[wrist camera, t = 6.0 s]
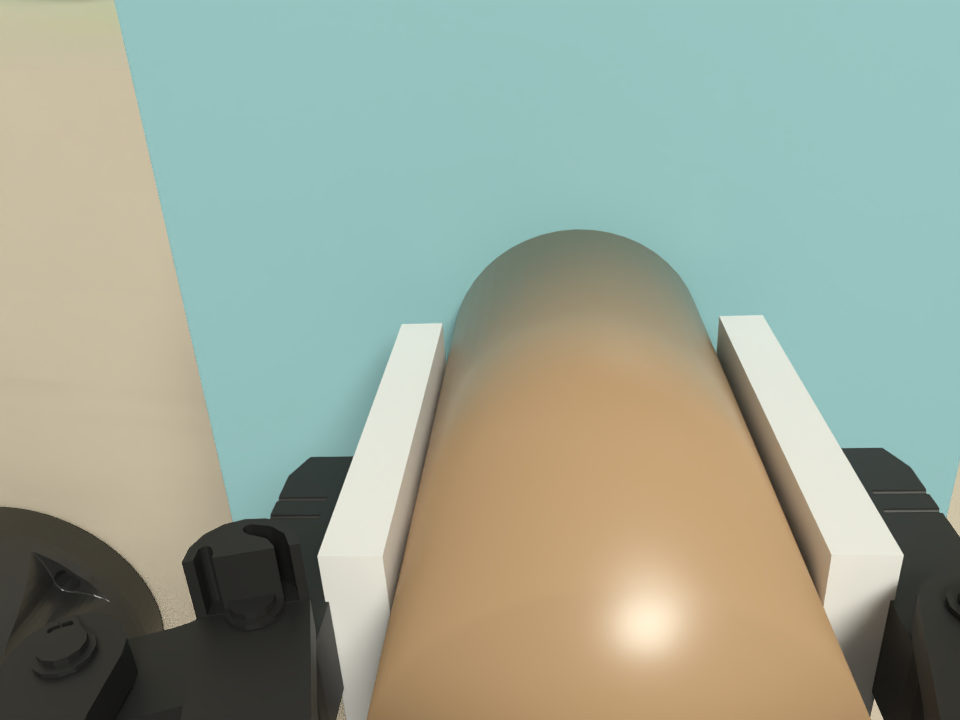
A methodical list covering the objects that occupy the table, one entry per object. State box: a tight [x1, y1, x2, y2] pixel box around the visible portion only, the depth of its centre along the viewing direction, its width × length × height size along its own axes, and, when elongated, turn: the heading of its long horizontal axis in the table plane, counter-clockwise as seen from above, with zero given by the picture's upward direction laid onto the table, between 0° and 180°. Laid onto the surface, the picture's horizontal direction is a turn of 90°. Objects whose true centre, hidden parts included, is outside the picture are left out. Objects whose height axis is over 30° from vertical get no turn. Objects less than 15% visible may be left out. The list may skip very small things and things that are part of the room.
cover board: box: [114, 0, 960, 720], centre depth 13 cm, size 16×16×11 cm
